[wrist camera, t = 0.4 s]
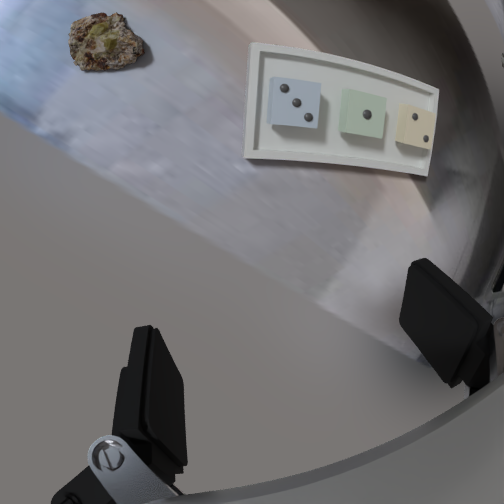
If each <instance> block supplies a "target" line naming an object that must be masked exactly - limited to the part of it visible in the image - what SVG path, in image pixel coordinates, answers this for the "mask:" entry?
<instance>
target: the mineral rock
mask: <svg viewBox="0 0 504 504" xmlns="http://www.w3.org/2000/svg"><path fill="white" fill-rule="evenodd" d="M124 20H125V19H124V18H123V15H120V14H117V13H114V14H112V15H111V16H107V15H106V14H105V13H98V14H93V15H91V16H88V17H85V18H82V19H80V20H77V21H75V22H73V23H72V25H71V32H70V33H69V36H70V39H69V40H68V41H69V42H68V43H69V47H70V54H71V56H72V58H73V59H74V60H75V61H74V64H75V65H76V66H77V65H79V66H80V69H81V70H82V71H84V70H91V69H92V70H97V71H98V70H104V71H105V70H107V69H110V68H111V69H115V70H118V69H120V68H123V67H124V66H125V65H126V64H131V63H135V62H136V58H137V57H138V56H140V55H143V54H144V53H145V52H144V49H143V46H142V44H143V40H142V39H141V38H140V37H138V36H137V35H135V34H134V33H133V32H131V30H128V29H126V28H125V26H126V25H125V23H124V22H123V21H124Z"/></svg>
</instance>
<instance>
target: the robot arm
mask: <svg viewBox="0 0 504 504" xmlns="http://www.w3.org/2000/svg"><path fill="white" fill-rule="evenodd" d="M492 319H493V317H492V316H491V315H490V314H489V313H488V312H487V311H486V310H485V309H484V308H483V307H482V306H481V305H480V304H479V303H478V302H476V301H475V300H474V299H473V298H472V297H471V296H470V295H469V294H468V293H467V292H466V291H464V290H463V289H462V288H461V287H460V286H459V285H458V284H457V283H455V282H454V281H453V280H452V279H451V278H450V277H448V276H447V275H446V274H445V273H444V272H443V271H441V270H440V269H439V268H438V267H437V266H436V265H434V264H433V263H432V262H431V261H429V260H428V259H427V258H422V259H419V260H416V261H413V262H412V263H411V266H410V267H409V268H408V274H407V280H406V286H405V292H404V297H403V302H402V308H401V312H400V317H399V322H400V325H401V327H402V328H403V329H404V331H405V332H406V333H407V334H408V336H409V337H410V338H411V340H412V341H413V342H414V343H415V345H416V346H417V347H418V349H419V350H420V351H421V352H422V354H423V355H424V356H425V358H426V359H427V360H428V362H429V363H430V364H431V366H432V367H433V368H434V370H435V371H436V372H437V373H438V375H439V376H440V378H441V379H442V380H443V382H445V383H448V385H449V386H450V387H451V388H453V387H455V386H456V385H458V384H460V383H461V381H462V380H463V381H464V382H465V394H464V400H463V401H462V402H460V403H459V404H457V405H456V406H454V407H452V408H451V409H449V410H448V411H446V412H444V413H442V414H441V415H439V416H437V417H436V418H434V419H432V420H430V421H428V422H426V423H425V424H423V425H421V426H419V427H417V428H415V429H413V430H411V431H410V432H407V433H405V434H403V435H402V436H399V437H397V438H395V439H393V440H391V441H388V442H386V443H384V444H382V445H379V446H377V447H375V448H373V449H370V450H368V451H365V452H363V453H360V454H358V455H355V456H352V457H350V458H347V459H345V460H342V461H339V462H336V463H333V464H330V465H327V466H324V467H320V468H317V469H314V470H311V471H308V472H304V473H300V474H296V475H293V476H289V477H285V478H281V479H276V480H272V481H267V482H262V483H258V484H253V485H248V486H242V487H236V488H231V489H225V490H217V491H209V492H202V493H195V494H188V495H186V494H185V493H184V492H183V491H181V490H180V489H179V488H178V487H177V486H176V485H175V484H174V482H175V474H180V473H181V474H182V473H183V466H187V463H188V461H187V448H186V431H185V414H184V413H185V410H184V384H183V379H182V377H181V374H180V372H179V371H178V369H177V367H176V365H175V363H174V361H173V359H172V357H171V355H170V352H169V351H168V348H167V346H166V344H165V342H164V340H163V338H162V336H161V334H160V331H159V330H158V328H155V329H153V327H152V326H151V325H147V326H142V327H136V328H135V329H134V333H133V338H132V343H131V349H130V354H129V360H128V366H127V367H123V368H122V370H121V373H120V379H119V385H118V391H117V397H116V404H115V412H114V419H113V428H112V436H111V435H108V436H103V437H101V438H99V439H97V440H96V441H95V442H94V443H93V444H92V445H91V447H90V449H89V452H88V463H89V466H88V467H86V468H85V469H84V470H83V471H82V472H81V473H79V474H78V475H77V476H76V477H75V478H74V479H72V480H71V481H70V482H69V483H68V484H67V485H65V486H64V487H63V488H61V489H60V490H59V491H58V492H57V493H56V494H55V495H54V496H53V498H52V501H51V504H504V317H502V318H499V319H497V320H496V321H495V323H494V325H493V324H492V323H491V321H492Z"/></svg>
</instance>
